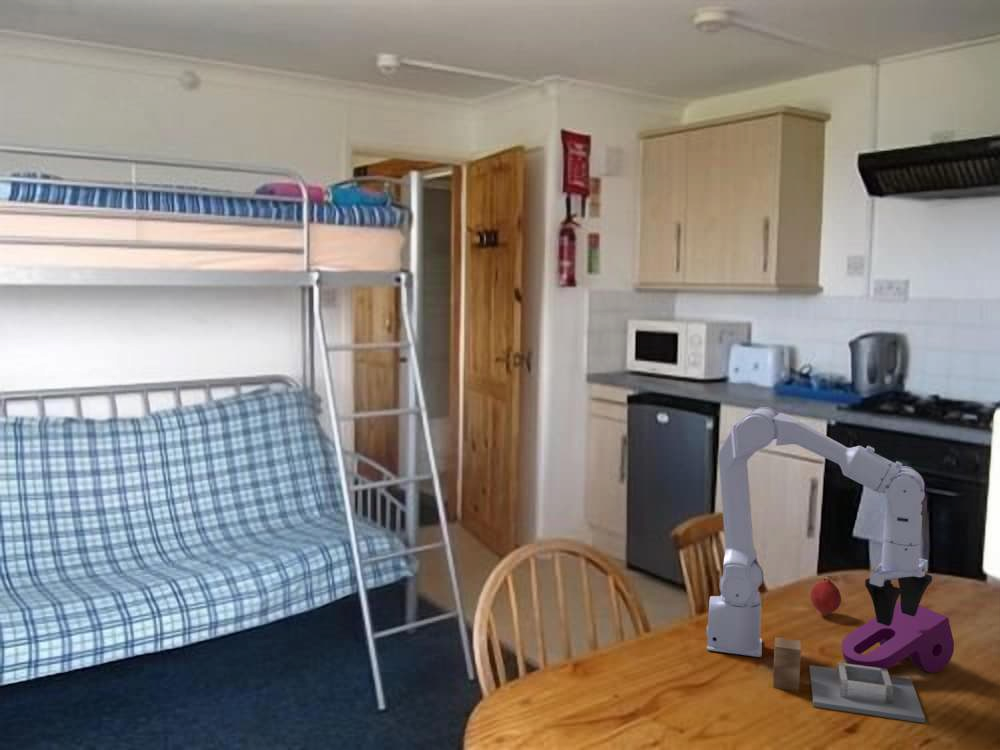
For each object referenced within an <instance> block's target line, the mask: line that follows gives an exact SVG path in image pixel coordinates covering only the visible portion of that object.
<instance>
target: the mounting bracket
mask: <svg viewBox="0 0 1000 750" xmlns="http://www.w3.org/2000/svg"><path fill="white" fill-rule="evenodd" d="M954 640H955V639H954V636H953V633H952V629H951V624H950V621H949V616H946V615H943V614H941V613H939V612H937V611H934V610H932V609H929V608H927V607H925V606H922V605H920V604H919V607H918V610H917V612H916V615H915V616H910V615H907V614H904V613H902V611H901V600H900V601H898V602H896V605H895V608H894V614H893V620H892V623H891V625H890V626H886V625H884V624H881V623H878V622H877V619H876V616H875V617H873V618H872V619H871V620H868V622H866V623H864V624H863V625H861V626H859V627H858V628H857V629H855V630H853V631H852V632H850V633H849V634H847V635H846V636H845V637H844V638H843V640H842V641H841V644H840V647H841V652H842V656H843V659H844V661H845V663H846V664H854V665H861V666H869V667H876V668H884V669H887V670H888V669H890V668H892V667H894V666H895V665H897V664H898V663H900V662H902V661H903V660H904V659H906V658H908V657H909V659H910V661H911V663H912V664H914V665H915V666H917V667H918V668H921V669H923V670H924V671H926V672H929V673H938V672H940V671H942V670H943V669H945V668H946V667H947V666H948V664H949V662H950V661H951V659H952V657H953V655H954V649H955V641H954ZM876 644H879V646H877V647H876V648H875V649H873V650H872V651H870V652H868V653H865V654H863V653H864V652H866V651H867V650H869V649H870V648H872V647H873V646H875V645H876Z"/></svg>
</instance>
